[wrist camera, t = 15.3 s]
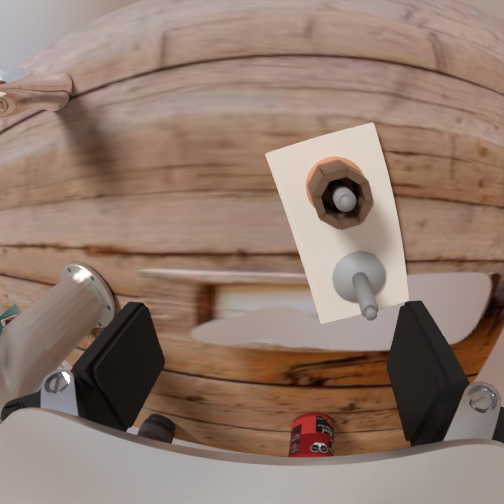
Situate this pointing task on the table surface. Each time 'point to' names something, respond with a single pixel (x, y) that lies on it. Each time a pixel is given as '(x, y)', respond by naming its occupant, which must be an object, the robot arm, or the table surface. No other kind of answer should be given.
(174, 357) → the table surface
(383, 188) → the pin board
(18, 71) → the beer glass
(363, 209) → the sleeve
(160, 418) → the camera lens
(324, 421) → the canned food
